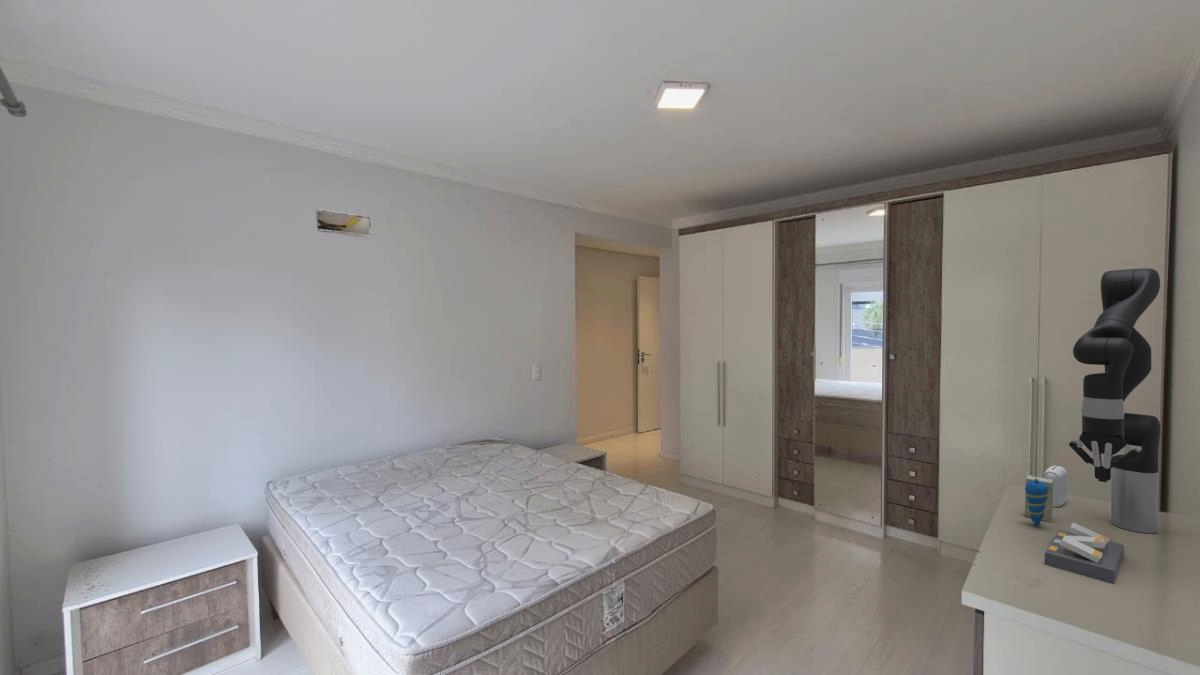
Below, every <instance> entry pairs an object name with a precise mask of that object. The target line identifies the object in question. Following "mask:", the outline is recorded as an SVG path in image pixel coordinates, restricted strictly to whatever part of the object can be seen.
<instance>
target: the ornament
mask: <svg viewBox="0 0 1200 675" xmlns="http://www.w3.org/2000/svg"><path fill="white" fill-rule="evenodd" d="M1035 477H1036V479H1034V481H1029V482H1028V483H1027V484H1026V483H1025V487H1024V491H1026V494H1027V496H1026V499H1027V501H1028V503H1029V505H1028V508H1029V511H1030V517H1031V518H1030V517H1029V518H1030V519H1031V521H1032V523H1033V525H1034V526H1035V527H1036V526H1037V527H1038V528H1039V527H1040V524H1041V522H1042V521H1043V520H1042V518H1043V516H1044V509H1045V506H1046V504H1045V502H1046V500H1047V498H1048V496H1047V493H1048V490H1049V488H1048V486H1047V485H1046V484H1045V483H1043V482H1040V481H1039V479H1037V477H1038V476H1035Z"/></svg>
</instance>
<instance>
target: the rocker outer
mask: <svg viewBox="0 0 1200 675" xmlns="http://www.w3.org/2000/svg"><path fill="white" fill-rule="evenodd" d="M1060 545H1062V546H1064V547H1066V548H1068V549H1070V550H1072V551H1074V552H1076V553H1078V554H1080V555H1082V556H1084V557H1086V558H1088V559H1090V560H1092V561H1094V562H1096V563H1098V562H1099V560H1100V558H1101V556H1102V554H1103V553H1102V552H1100V551H1098V550H1096V549H1093V548H1091V547H1089V546H1087V545H1084V544H1082V543H1080V542H1078V541H1076V540H1074V539H1072V538H1070V537H1068V536H1066V535H1065V536H1064V538H1063V539H1062V541H1061V543H1060Z"/></svg>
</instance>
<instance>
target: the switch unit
mask: <svg viewBox="0 0 1200 675" xmlns="http://www.w3.org/2000/svg"><path fill="white" fill-rule="evenodd" d="M1065 535H1066V536H1067V535H1070V536H1078V535H1076V534H1074V533H1071V532H1069V531H1066V530H1062V529H1059V530H1058V532H1057V534H1056V535H1055V536H1054V538H1053V539H1052V541H1051V542H1050V544H1049V545H1048V546H1047V548H1046V550H1045V551H1044V565H1047V566H1051V567H1054V568H1058V569H1060V570H1065V571H1068V572H1072V573H1075V574H1079V575H1083V576H1085V577H1089V578H1093V579H1097V580H1100V581H1104V582H1107V583H1110V584H1111V583H1112V584H1115V582H1116V580H1117V577H1118V575H1119V574H1118V573H1119V571H1120V568H1121V565H1122V563H1123V559H1124V556H1125V555H1124V554H1125V552H1124V550H1125V549H1124V546H1125V545H1124V544H1123V543H1117V542H1113V541H1110V540H1108V542H1107V544H1106V546H1105V548H1094V547H1091V548H1093V549H1096V550H1098V551H1100V552H1102V553H1103V554H1102V556H1101V558H1100V560H1099V562H1098V563H1096V562H1094V561H1092V560H1090V559H1088V558H1086V557H1084V556H1082V555H1080V554H1078V553H1076V552H1074V551H1072V550H1070V549H1068V548H1066V547H1064V546H1062V545H1060V543H1061V541H1062V539H1063V538H1064V536H1065Z"/></svg>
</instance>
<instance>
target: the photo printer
mask: <svg viewBox="0 0 1200 675" xmlns="http://www.w3.org/2000/svg"><path fill="white" fill-rule="evenodd" d="M1043 478H1045V479H1051V480H1053V508H1059V507H1062V506H1063V505H1064V504H1066V503H1067V501H1068V473H1067V470H1066V468H1064V466H1061V465H1060V466H1059V465H1052V466H1049V467H1048V468H1047V469H1046V470H1045V471H1044V474H1043ZM1066 496H1067V497H1066Z"/></svg>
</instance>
